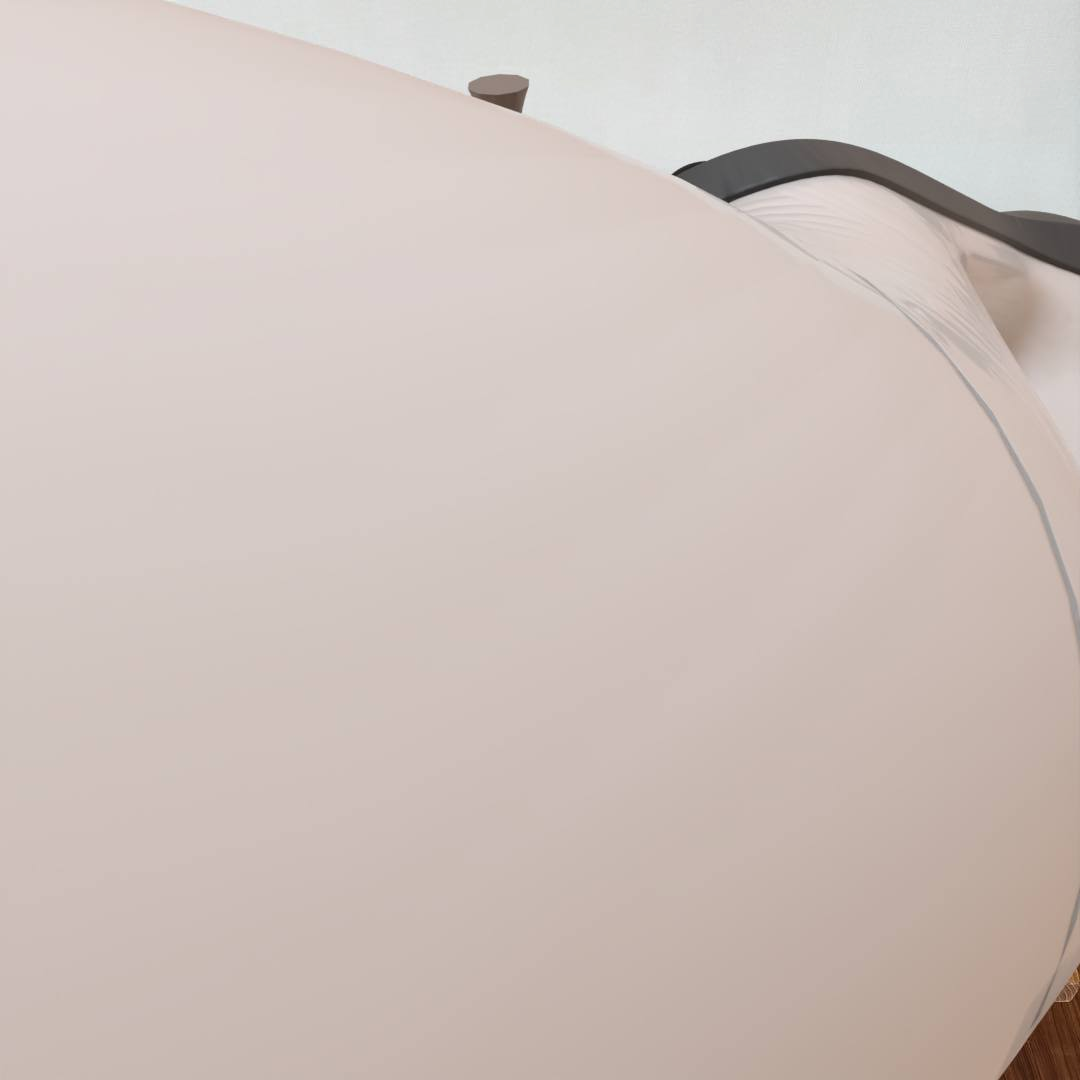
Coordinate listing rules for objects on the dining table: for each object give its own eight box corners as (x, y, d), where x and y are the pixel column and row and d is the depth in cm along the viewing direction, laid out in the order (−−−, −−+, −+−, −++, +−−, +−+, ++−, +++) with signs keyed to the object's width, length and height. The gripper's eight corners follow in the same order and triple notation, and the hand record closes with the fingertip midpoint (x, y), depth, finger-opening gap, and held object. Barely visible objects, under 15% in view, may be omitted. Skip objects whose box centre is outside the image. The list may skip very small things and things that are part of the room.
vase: (570, 242, 147) (566, 68, 130) (542, 286, 137) (533, 104, 120) (482, 233, 151) (467, 63, 134) (449, 276, 141) (427, 98, 124)
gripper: (938, 883, 36) (657, 902, 45) (985, 557, 50) (765, 622, 60) (852, 769, 34) (578, 813, 44) (927, 465, 49) (709, 546, 58)
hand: (687, 701), depth 52 cm, fingers closed
